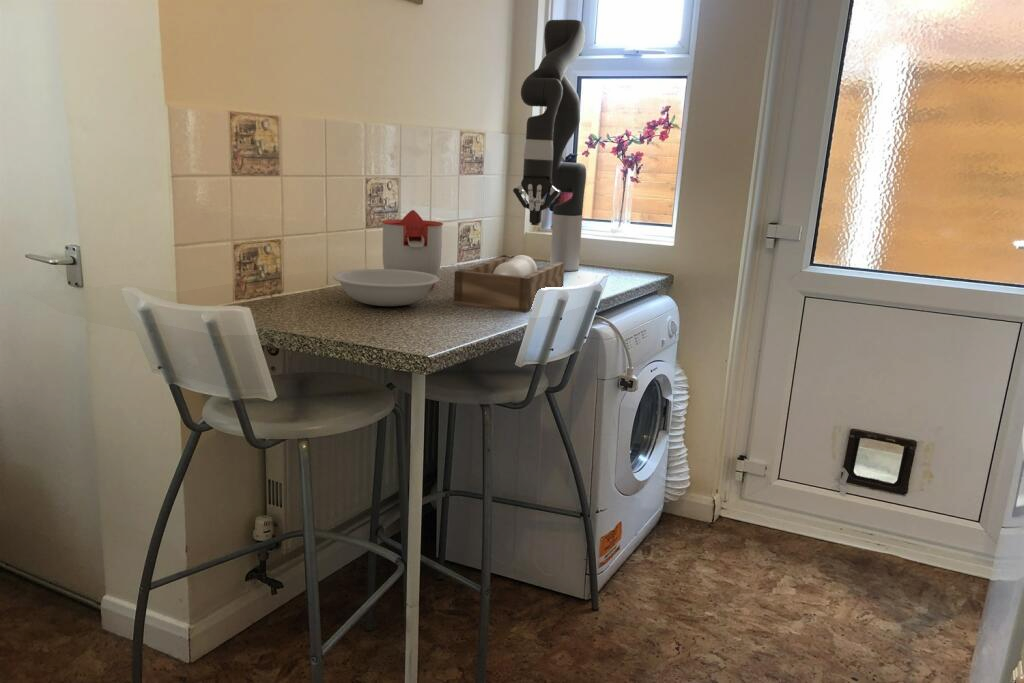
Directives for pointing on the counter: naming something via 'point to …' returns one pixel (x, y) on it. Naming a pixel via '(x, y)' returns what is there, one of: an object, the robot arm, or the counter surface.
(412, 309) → the counter surface
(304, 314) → the counter surface
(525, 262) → the bottle
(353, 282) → the soup bowl
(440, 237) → the citrus juicer
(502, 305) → the brown wooden open box
